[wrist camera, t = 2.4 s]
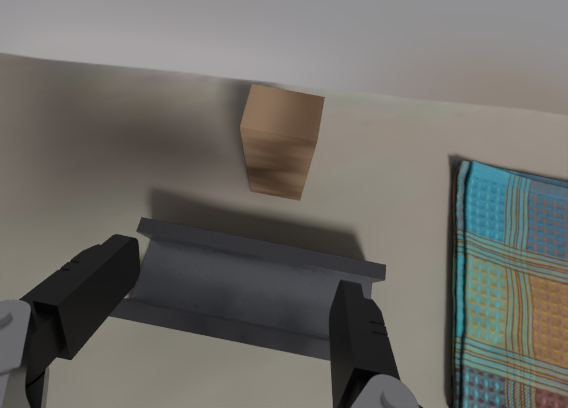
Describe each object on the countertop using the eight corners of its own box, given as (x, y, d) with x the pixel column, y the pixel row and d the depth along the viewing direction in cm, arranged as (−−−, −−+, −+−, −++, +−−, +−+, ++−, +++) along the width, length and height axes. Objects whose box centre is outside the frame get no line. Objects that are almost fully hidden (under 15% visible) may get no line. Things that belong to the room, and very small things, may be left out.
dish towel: (606, 199, 31) (635, 190, 28) (649, 463, 23) (694, 482, 20) (449, 163, 31) (464, 151, 29) (438, 408, 23) (458, 421, 21)
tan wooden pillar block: (250, 191, 28) (239, 127, 18) (258, 160, 29) (251, 83, 19) (299, 200, 28) (317, 141, 18) (305, 169, 29) (324, 97, 19)
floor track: (130, 313, 24) (104, 315, 20) (159, 229, 27) (141, 217, 23) (361, 359, 24) (379, 370, 20) (369, 270, 26) (386, 264, 22)
